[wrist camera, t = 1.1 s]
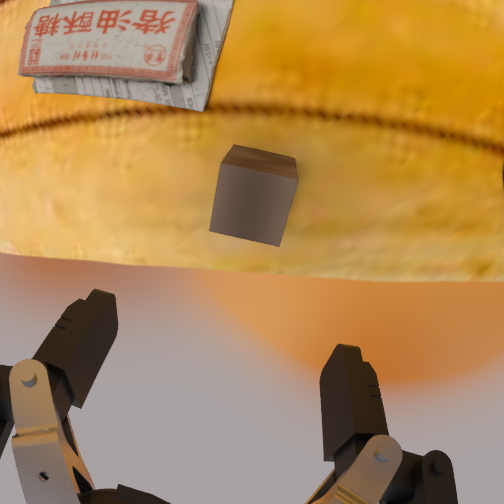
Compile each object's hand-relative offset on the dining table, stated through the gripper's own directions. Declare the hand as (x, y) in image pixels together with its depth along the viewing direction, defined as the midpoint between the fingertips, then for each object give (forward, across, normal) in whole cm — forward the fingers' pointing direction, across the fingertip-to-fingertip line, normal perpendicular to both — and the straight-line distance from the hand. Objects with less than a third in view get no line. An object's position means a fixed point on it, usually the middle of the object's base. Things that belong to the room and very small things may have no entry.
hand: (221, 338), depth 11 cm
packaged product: (+18, +14, -10) cm, 25 cm away
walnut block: (+18, 0, 0) cm, 18 cm away
